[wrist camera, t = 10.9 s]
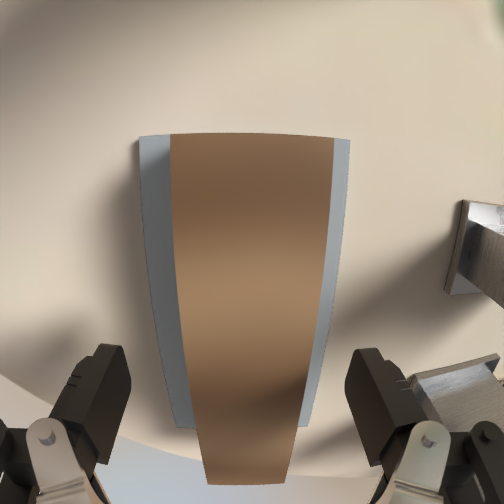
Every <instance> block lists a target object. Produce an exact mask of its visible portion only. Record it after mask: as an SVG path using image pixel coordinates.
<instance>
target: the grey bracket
mask: <svg viewBox="0 0 504 504" xmlns="http://www.w3.org/2000/svg"><path fill="white" fill-rule="evenodd" d="M499 360H500V357H499V355H498V354H497V353H496V354H493V355H489V356H486V357H483V358H479V359H476V360H472V361H468V362H464V363H461V364H457V365H453V366H449V367H444V368H440V369H436V370H431V371H427V372H422V373H417V374H414V376H413V379H412V381H411V383H410V387H411V388H410V389H412V391H413V393H414V394H415V396H416V398H417V400H418V401H419V403H420V405H421V407H422V409H423V410H424V412H425V414H426V416H427V418H428V419H429V421H435V422H438V423H440V424H442V425H443V426H444V427H445V428H446V429H447V430H448V432H470V430H471V429H472V428H473V426H474V425H475V424H476V423H478V422H480V421H490V422H493V423H495V424H496V425H497V426H498V427H499V428H500V429H501V430H502V432H503V434H504V387H503V386H502V385H501V383H500V382H499V381H498V380H497V378H496V377H495V376H494V375H493V374H492V373H493V371H494V369H495V368H496V366H497V364H498V362H499ZM474 479H475V481H476V484H477V486H478V488H479V491H480V493H481V496H482V498H483V501H484V502H485V496H484V493H483V490H482V488H481V486H480V483H479V481H478V478H477V476H476V474H475V475H474Z"/></svg>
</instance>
